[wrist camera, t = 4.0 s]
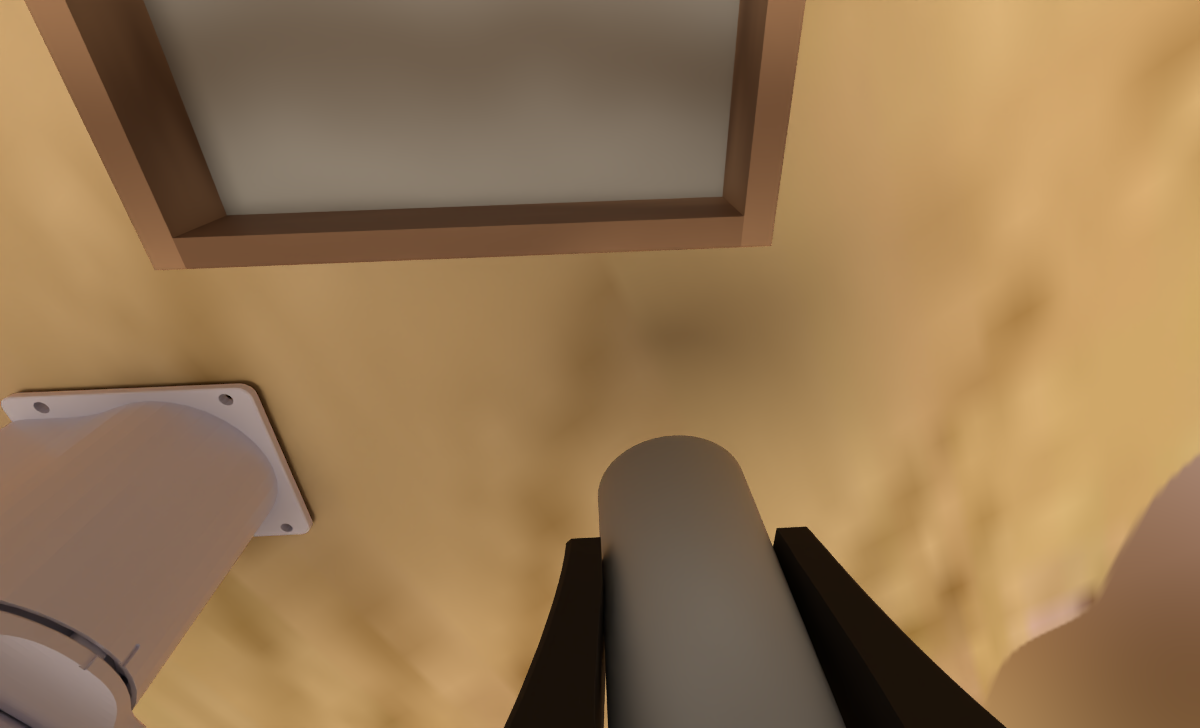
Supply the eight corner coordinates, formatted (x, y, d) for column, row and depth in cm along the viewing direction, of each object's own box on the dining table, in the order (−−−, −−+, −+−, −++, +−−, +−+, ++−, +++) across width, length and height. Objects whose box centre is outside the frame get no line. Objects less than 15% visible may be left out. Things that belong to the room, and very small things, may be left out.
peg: (600, 547, 14) (617, 937, 7) (595, 439, 12) (612, 835, 6) (736, 541, 14) (864, 922, 8) (752, 432, 12) (935, 817, 6)
